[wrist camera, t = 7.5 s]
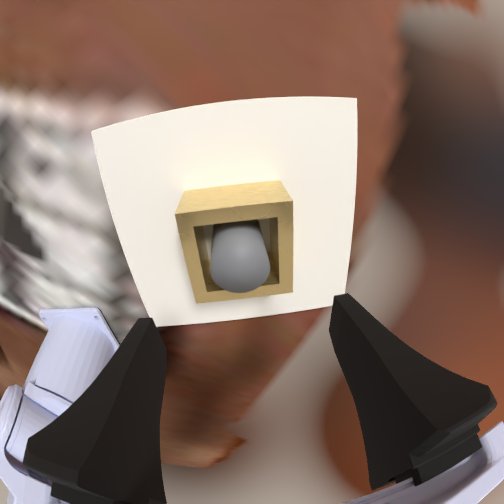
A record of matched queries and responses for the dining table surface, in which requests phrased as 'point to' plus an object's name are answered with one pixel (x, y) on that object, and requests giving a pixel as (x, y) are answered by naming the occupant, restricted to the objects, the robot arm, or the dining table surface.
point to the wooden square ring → (232, 210)
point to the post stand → (229, 173)
